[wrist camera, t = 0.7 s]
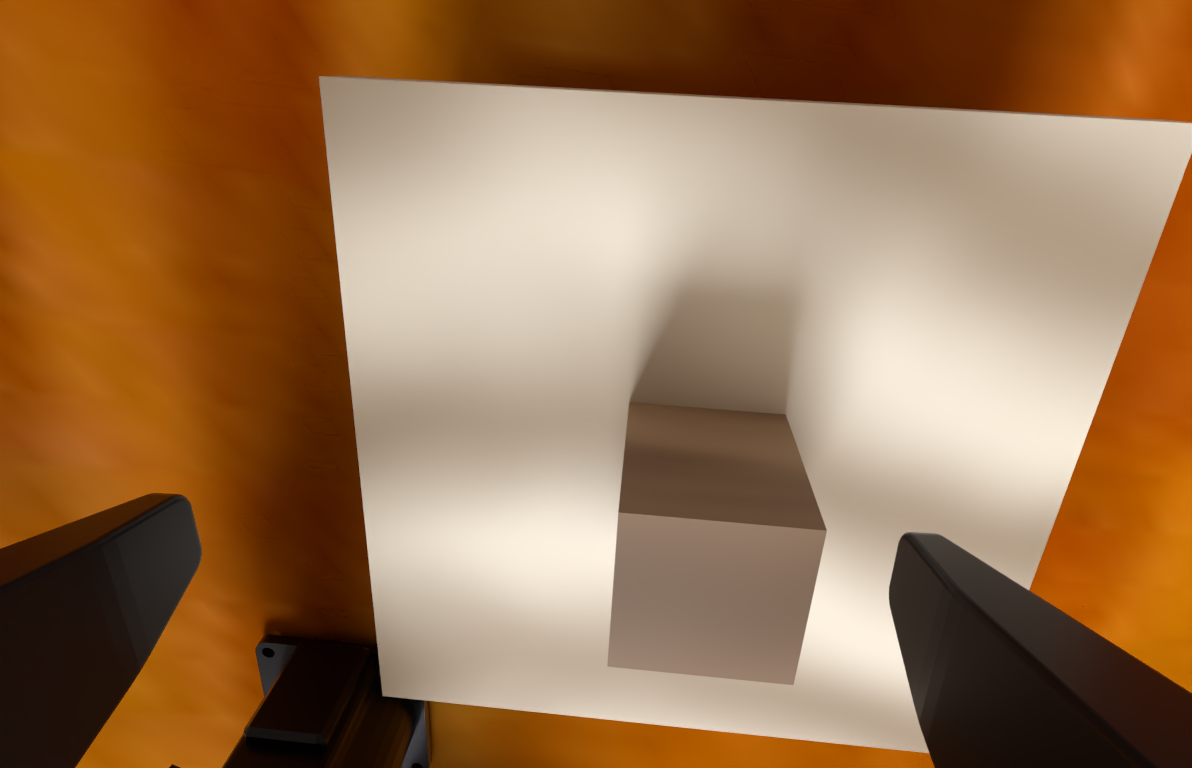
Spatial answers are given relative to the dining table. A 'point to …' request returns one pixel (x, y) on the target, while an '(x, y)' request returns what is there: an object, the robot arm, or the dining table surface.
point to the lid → (713, 380)
